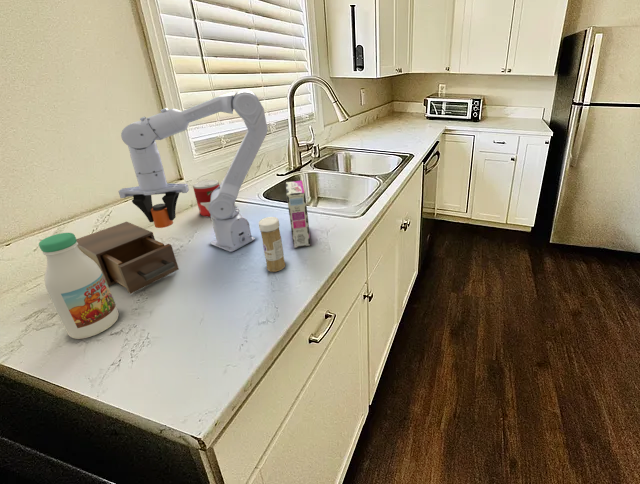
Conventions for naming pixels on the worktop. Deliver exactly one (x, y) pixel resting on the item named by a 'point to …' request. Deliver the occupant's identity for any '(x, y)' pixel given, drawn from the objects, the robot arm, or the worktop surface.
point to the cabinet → (110, 242)
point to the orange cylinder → (160, 216)
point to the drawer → (140, 263)
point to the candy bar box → (298, 213)
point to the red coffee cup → (204, 193)
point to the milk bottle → (77, 288)
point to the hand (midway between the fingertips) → (162, 219)
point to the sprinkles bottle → (272, 243)
